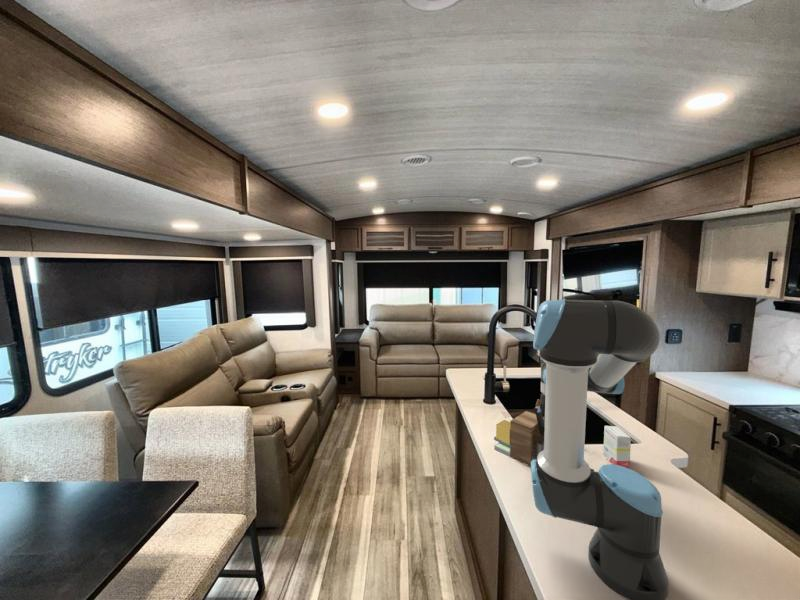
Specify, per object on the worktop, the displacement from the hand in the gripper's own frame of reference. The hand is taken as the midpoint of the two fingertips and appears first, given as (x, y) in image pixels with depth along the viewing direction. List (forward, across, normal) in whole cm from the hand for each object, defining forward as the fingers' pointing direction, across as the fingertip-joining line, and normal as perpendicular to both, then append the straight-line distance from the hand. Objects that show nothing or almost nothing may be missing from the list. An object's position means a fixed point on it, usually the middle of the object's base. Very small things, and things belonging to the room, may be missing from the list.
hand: (551, 455), depth 113 cm
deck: (+4, +9, 0) cm, 10 cm away
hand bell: (+4, +13, -18) cm, 22 cm away
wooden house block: (+4, +9, 0) cm, 9 cm away
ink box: (+4, -15, -20) cm, 25 cm away
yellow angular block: (+1, +12, 0) cm, 12 cm away
